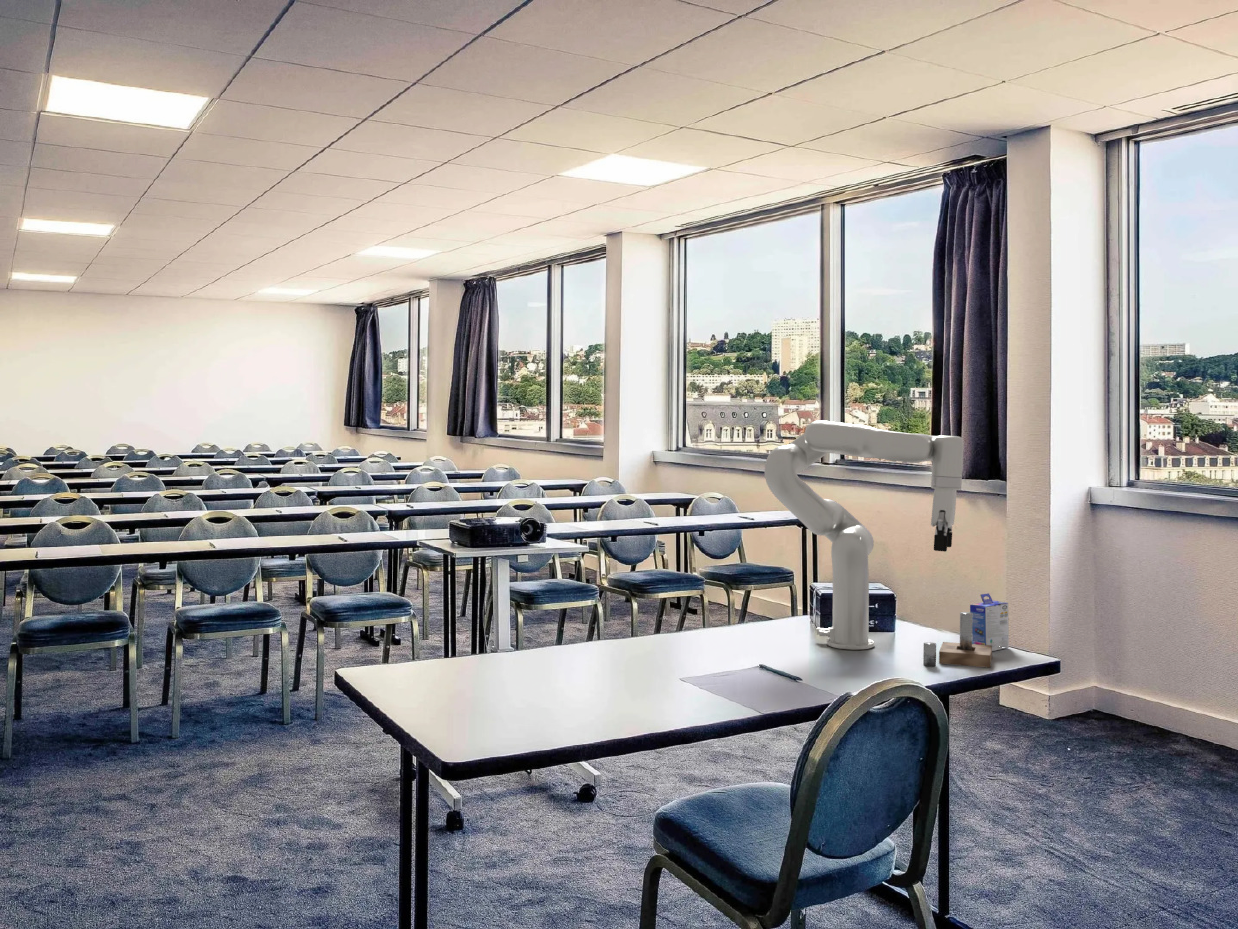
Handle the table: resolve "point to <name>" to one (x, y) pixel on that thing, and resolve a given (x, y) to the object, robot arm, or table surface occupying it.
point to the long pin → (966, 631)
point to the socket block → (965, 655)
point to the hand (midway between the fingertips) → (942, 548)
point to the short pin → (929, 654)
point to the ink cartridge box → (990, 623)
